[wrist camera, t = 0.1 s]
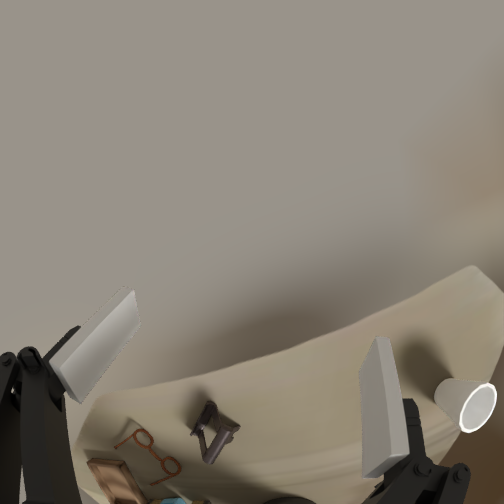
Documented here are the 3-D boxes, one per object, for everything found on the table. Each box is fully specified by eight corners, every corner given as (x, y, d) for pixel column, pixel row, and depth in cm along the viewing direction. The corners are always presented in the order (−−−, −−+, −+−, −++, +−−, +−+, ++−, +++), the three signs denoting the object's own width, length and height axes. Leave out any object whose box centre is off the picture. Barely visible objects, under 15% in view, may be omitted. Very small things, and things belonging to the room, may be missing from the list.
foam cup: (437, 368, 42) (472, 381, 29) (467, 372, 41) (502, 383, 28) (421, 411, 41) (451, 433, 28) (452, 412, 39) (483, 431, 26)
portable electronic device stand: (209, 398, 47) (195, 413, 39) (246, 417, 46) (238, 435, 37) (192, 430, 46) (177, 448, 38) (227, 448, 45) (217, 468, 36)
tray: (151, 507, 42) (146, 513, 39) (118, 502, 43) (113, 507, 40) (124, 461, 46) (118, 465, 43) (92, 458, 46) (86, 462, 43)
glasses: (184, 466, 45) (177, 477, 40) (152, 484, 44) (143, 494, 39) (143, 425, 48) (132, 432, 43) (114, 446, 47) (103, 453, 42)
